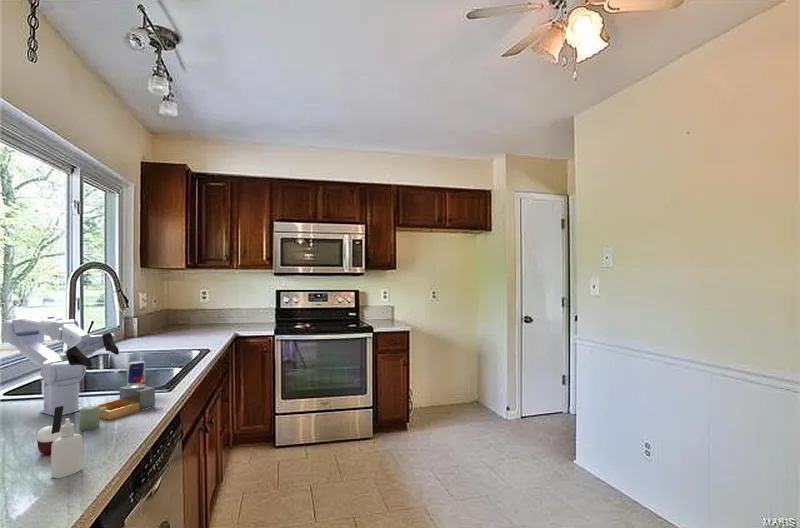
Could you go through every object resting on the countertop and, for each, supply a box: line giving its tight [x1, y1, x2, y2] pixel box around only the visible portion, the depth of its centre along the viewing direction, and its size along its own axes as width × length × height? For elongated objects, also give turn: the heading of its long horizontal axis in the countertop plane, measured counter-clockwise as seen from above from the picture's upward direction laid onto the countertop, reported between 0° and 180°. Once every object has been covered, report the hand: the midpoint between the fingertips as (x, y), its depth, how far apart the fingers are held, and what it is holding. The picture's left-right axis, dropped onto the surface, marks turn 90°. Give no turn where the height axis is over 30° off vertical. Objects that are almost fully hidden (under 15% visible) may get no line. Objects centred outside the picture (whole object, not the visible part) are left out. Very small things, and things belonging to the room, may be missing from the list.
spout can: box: [79, 405, 106, 432], centre depth 128 cm, size 5×7×6 cm
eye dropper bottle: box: [50, 418, 84, 480], centre depth 100 cm, size 4×6×12 cm
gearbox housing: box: [94, 384, 156, 421], centre depth 142 cm, size 10×15×7 cm
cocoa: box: [36, 406, 64, 456], centre depth 110 cm, size 10×6×12 cm, turn 28°
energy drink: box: [126, 360, 146, 386], centre depth 157 cm, size 5×5×12 cm
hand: (103, 357), depth 131 cm, fingers open, 7 cm apart
